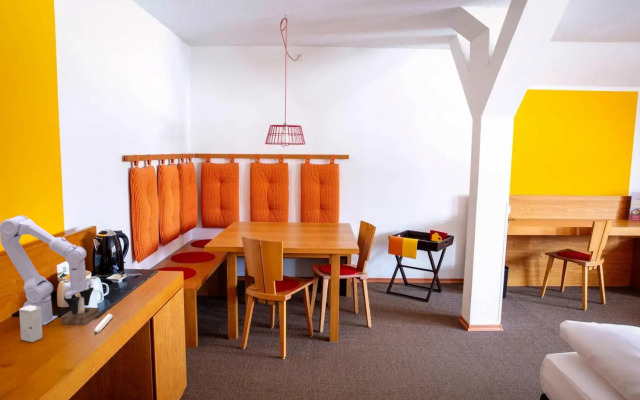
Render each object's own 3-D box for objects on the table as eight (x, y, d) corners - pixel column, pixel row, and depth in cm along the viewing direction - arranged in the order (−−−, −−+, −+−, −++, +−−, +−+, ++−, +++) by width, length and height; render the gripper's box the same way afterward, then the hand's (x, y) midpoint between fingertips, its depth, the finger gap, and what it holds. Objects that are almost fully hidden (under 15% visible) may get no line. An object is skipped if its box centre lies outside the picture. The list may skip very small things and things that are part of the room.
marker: (94, 338, 163) (109, 319, 179) (99, 335, 163) (113, 317, 179) (90, 332, 163) (105, 314, 178) (95, 329, 163) (110, 312, 178)
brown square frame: (61, 323, 173) (61, 316, 172) (76, 313, 183) (76, 307, 182) (85, 324, 172) (85, 317, 172) (99, 314, 182) (99, 307, 182)
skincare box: (20, 340, 159) (17, 309, 157) (31, 334, 163) (28, 304, 161) (33, 342, 157) (30, 311, 155) (44, 337, 161) (41, 306, 160)
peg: (75, 320, 176) (73, 299, 175) (79, 317, 179) (78, 296, 178) (82, 320, 176) (80, 299, 175) (86, 317, 179) (85, 297, 178)
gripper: (76, 283, 167) (78, 316, 169) (97, 271, 182) (99, 302, 184) (59, 282, 168) (61, 315, 170) (81, 271, 182) (83, 302, 184)
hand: (80, 308), depth 177 cm, fingers open, 7 cm apart
